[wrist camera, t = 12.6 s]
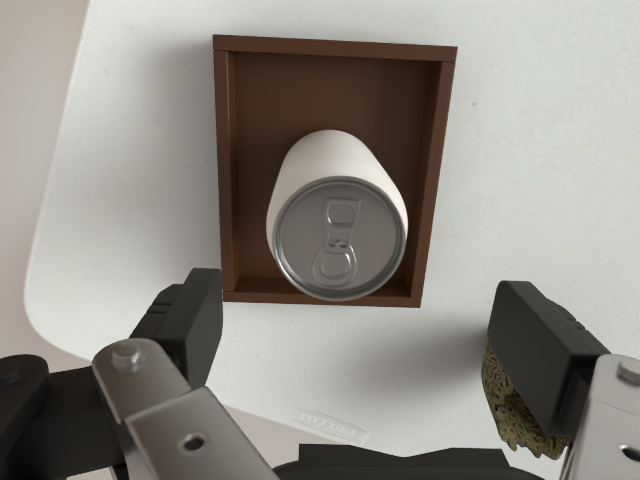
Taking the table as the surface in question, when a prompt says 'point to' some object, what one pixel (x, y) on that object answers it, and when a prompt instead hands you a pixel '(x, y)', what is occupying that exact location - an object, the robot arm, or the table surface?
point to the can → (335, 218)
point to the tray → (315, 115)
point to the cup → (515, 413)
